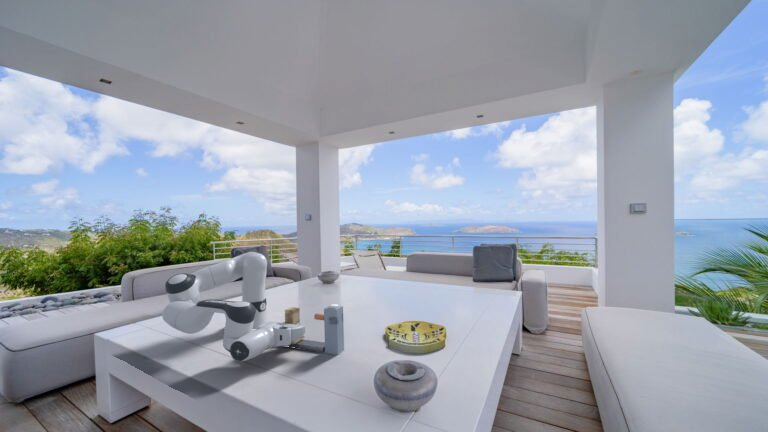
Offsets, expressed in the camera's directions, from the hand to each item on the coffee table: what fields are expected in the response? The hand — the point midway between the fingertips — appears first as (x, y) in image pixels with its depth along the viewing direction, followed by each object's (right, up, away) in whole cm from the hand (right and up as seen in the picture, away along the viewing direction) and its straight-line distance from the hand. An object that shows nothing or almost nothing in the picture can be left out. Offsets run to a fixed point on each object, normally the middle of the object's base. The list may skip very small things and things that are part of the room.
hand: (293, 323), depth 129 cm
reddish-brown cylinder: (+14, +4, -6) cm, 15 cm away
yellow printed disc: (+54, -8, +2) cm, 55 cm away
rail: (+5, -9, -3) cm, 10 cm away
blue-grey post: (+19, -8, -9) cm, 23 cm away
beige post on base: (0, -7, -1) cm, 7 cm away
